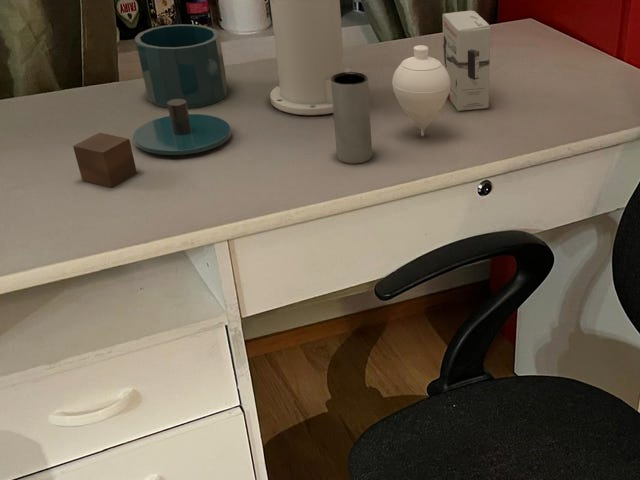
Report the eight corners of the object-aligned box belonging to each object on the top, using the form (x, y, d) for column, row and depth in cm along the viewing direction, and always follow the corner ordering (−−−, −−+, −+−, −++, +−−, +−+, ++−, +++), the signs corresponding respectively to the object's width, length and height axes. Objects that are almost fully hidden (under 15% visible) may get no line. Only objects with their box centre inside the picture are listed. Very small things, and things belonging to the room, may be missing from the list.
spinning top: (427, 120, 122) (425, 34, 115) (461, 137, 118) (462, 48, 111) (383, 133, 118) (379, 44, 111) (417, 152, 114) (415, 60, 106)
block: (137, 173, 107) (129, 138, 104) (112, 187, 103) (103, 152, 100) (108, 166, 108) (99, 132, 105) (82, 180, 104) (72, 145, 102)
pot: (242, 88, 131) (234, 30, 126) (196, 113, 122) (185, 53, 117) (180, 77, 134) (170, 20, 129) (131, 100, 126) (117, 41, 120)
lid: (250, 131, 118) (245, 94, 115) (193, 166, 108) (186, 126, 105) (175, 116, 121) (168, 79, 118) (114, 149, 112) (104, 110, 109)
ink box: (441, 91, 132) (441, 11, 125) (472, 89, 133) (474, 9, 126) (457, 111, 125) (458, 28, 118) (489, 109, 127) (492, 25, 119)
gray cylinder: (376, 151, 113) (372, 73, 107) (366, 165, 110) (361, 85, 104) (343, 147, 114) (337, 70, 108) (332, 161, 111) (325, 82, 104)
